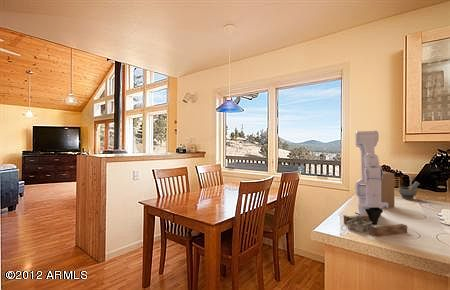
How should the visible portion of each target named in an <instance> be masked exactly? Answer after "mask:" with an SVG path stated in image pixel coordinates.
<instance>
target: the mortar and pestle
mask: <svg viewBox="0 0 450 290" xmlns="http://www.w3.org/2000/svg"><path fill="white" fill-rule="evenodd" d="M419 185H421V183H420V182H418V181H414V183H412V185H411V186H410V187H408V186H399V187H398V188H397V189H398V190H397V191H398V193H399V194H400V195H401V199H403V200H407V201H408V200H410V201H411V200H414V197H415V196H416V195H417V193H418V189H417V188H418V186H419Z"/></svg>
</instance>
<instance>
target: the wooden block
mask: <svg viewBox="0 0 450 290" xmlns="http://www.w3.org/2000/svg"><path fill="white" fill-rule="evenodd" d="M380 180H381V179H380ZM381 202H386V203H388V208H395V173H393V172H388V171H384V170H383V179H382V180H381Z"/></svg>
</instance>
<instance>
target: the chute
mask: <svg viewBox="0 0 450 290" xmlns="http://www.w3.org/2000/svg"><path fill="white" fill-rule="evenodd" d="M356 216H359V217H361V218H363V219H364V221H366V222H367V220H368V221H369V222H370V219H369V216H368V214H366V215H360V214H358V215H349V216H348V215H346V214H344V215H343V224H345V223H346V222H348V221H349V220H352V219H354V217H356ZM345 225H347V223H346V224H345ZM369 228H370V229H369V236H371V235H372V236H371V237H373V236H377V237H383V236H384V235H385V236H390V235H391V236H392V235H398V234H399V235H400V234H407V233H408V225H407V224H404V223H397V224H390V225H381V226H374V225H372V226H369Z"/></svg>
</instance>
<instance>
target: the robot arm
mask: <svg viewBox="0 0 450 290" xmlns="http://www.w3.org/2000/svg"><path fill="white" fill-rule="evenodd" d="M354 137H355V147H357V148H359V150H360V170H361V171H360V173H361V175H360V176H361V177H360V178H359V179H358V180H356V182H355V187H354V189H355V190H354V191H355V195H356V197H358V205H357V206H358V210H357V211H354V213H355V214H358V215H366V214H368V216H369V219H370V221H371V222H373V223H372V226H377V225H378V222H379V218H380V216H382V214H383V212H384V210H383V208H389V207H388V203H386V202H381V180H382V179H383V171H384V170H383V168H382V166H381V165H380V159H379V156H378V155H377V154H376V153H375V147H377V145H378V142H379V141H380V140H379V131H378V130H356V132H355V136H354ZM380 179H381V180H380Z"/></svg>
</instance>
